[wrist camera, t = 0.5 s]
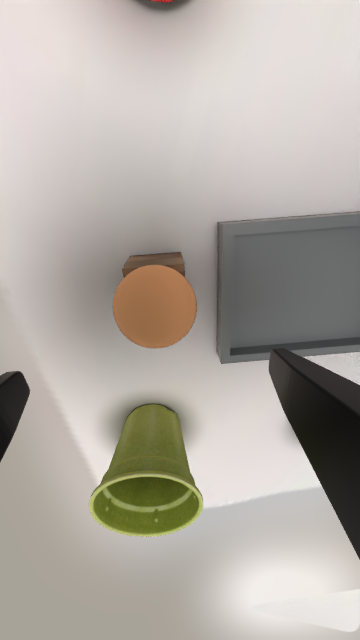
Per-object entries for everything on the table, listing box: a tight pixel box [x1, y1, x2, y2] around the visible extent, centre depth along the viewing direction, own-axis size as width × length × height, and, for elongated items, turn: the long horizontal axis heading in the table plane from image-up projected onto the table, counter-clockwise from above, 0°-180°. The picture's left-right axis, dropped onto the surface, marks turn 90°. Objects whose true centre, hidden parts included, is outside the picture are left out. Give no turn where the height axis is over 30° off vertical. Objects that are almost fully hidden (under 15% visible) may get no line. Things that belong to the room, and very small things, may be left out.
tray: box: [217, 212, 360, 364], centre depth 20 cm, size 15×12×2 cm
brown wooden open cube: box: [122, 252, 185, 278], centre depth 18 cm, size 4×4×4 cm
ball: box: [113, 265, 197, 348], centre depth 14 cm, size 5×5×5 cm
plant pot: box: [89, 404, 203, 537], centre depth 23 cm, size 9×9×9 cm
